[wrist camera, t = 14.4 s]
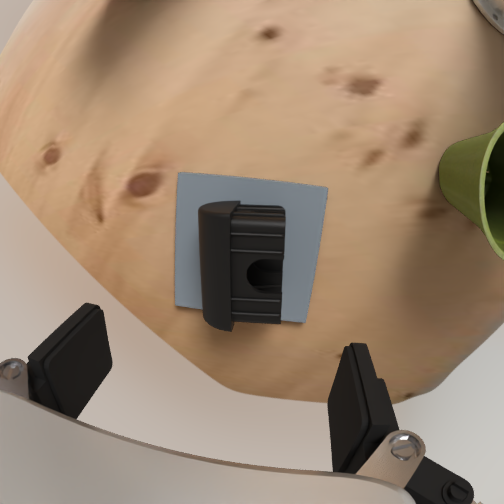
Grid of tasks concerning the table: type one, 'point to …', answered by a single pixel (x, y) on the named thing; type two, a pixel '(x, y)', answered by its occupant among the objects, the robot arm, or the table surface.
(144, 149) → the table surface
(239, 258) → the end cap
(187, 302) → the slate mat
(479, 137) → the plant pot
